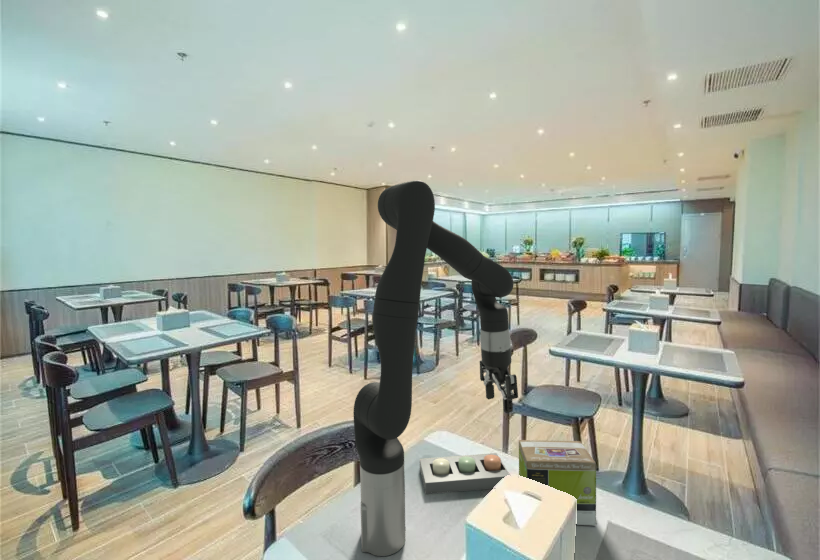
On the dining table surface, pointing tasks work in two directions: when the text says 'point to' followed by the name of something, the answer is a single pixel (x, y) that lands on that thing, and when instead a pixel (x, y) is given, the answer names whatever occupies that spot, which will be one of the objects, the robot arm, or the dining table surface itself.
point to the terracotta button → (492, 463)
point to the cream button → (440, 466)
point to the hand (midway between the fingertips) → (499, 404)
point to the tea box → (562, 471)
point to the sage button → (466, 465)
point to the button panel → (460, 475)
